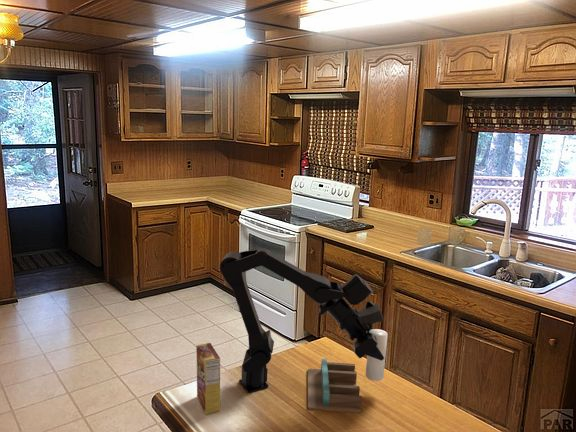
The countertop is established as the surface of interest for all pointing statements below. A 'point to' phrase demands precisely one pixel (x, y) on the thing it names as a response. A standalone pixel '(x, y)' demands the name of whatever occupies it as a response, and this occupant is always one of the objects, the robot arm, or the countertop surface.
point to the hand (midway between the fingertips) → (381, 354)
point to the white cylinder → (374, 365)
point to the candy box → (208, 378)
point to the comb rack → (334, 388)
